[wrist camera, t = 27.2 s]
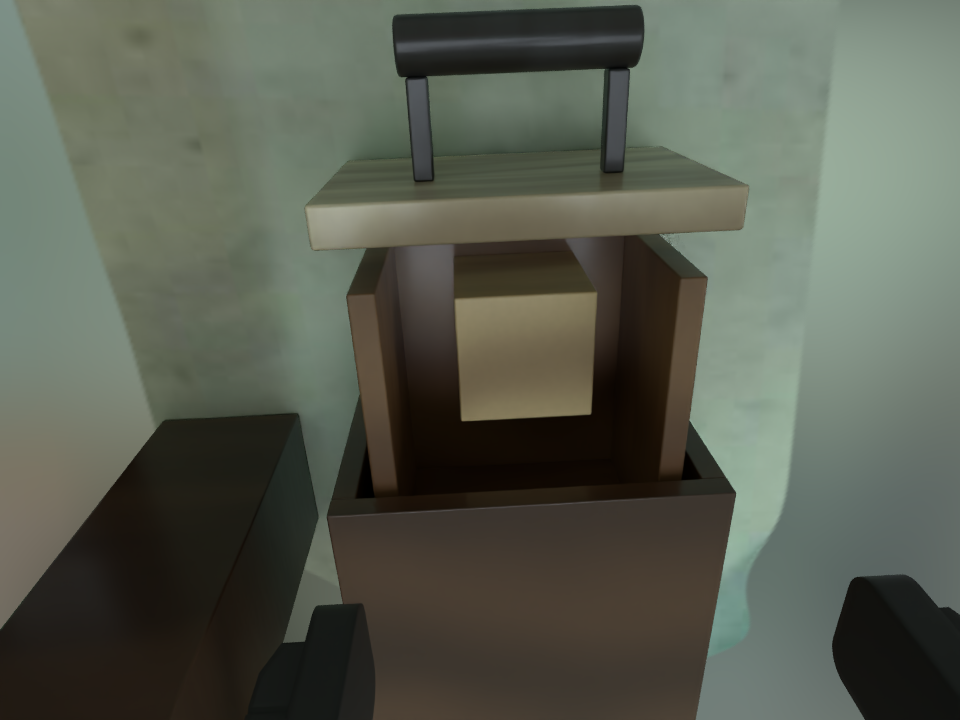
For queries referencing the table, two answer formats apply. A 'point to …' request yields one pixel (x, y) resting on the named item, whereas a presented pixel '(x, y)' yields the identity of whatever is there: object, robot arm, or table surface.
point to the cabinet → (535, 593)
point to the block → (524, 335)
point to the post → (170, 581)
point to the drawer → (513, 230)
